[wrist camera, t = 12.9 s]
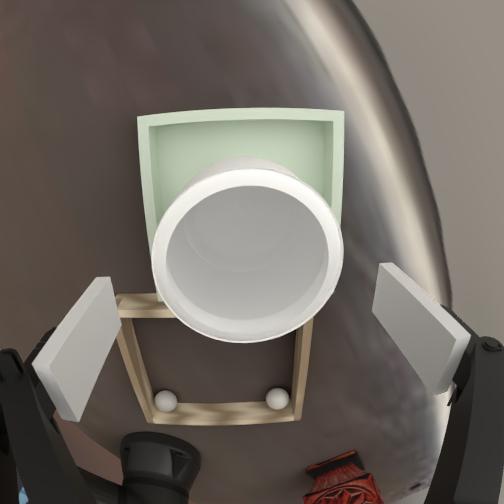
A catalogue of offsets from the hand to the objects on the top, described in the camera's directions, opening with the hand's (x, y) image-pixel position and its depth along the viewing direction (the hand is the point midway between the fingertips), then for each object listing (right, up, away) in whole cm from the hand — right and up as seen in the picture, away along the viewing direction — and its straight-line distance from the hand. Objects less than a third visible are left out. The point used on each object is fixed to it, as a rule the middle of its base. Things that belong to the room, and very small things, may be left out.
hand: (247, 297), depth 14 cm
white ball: (-12, -18, +26) cm, 34 cm away
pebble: (+4, -18, +27) cm, 32 cm away
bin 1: (-1, +7, +16) cm, 18 cm away
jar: (-1, +7, +16) cm, 18 cm away
